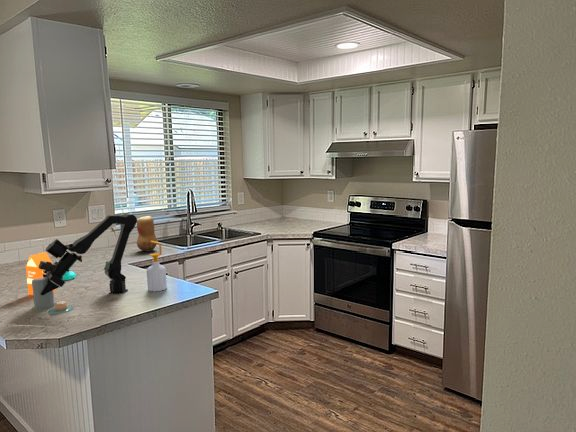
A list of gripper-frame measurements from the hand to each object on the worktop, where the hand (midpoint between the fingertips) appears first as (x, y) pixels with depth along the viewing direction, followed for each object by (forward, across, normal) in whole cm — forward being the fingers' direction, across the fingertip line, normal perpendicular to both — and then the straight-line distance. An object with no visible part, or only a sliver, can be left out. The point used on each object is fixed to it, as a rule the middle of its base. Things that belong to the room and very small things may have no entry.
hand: (39, 292), depth 191 cm
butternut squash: (-51, -84, +61) cm, 115 cm away
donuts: (-8, -46, +18) cm, 50 cm away
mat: (+4, 0, +6) cm, 7 cm away
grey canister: (+4, 0, +6) cm, 7 cm away
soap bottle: (-30, +8, +40) cm, 51 cm away
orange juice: (+2, -25, +8) cm, 26 cm away
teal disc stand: (+1, +10, +9) cm, 14 cm away
